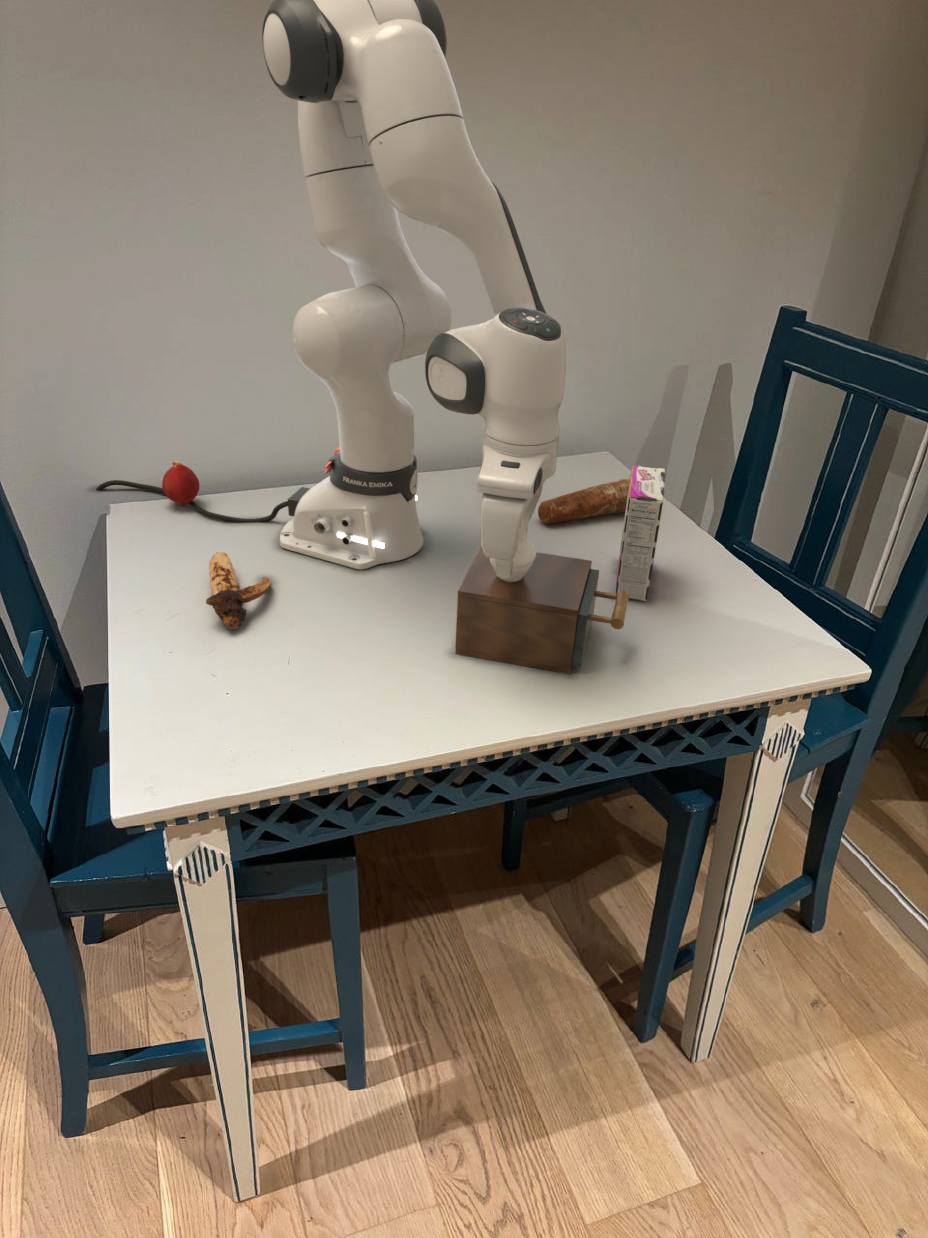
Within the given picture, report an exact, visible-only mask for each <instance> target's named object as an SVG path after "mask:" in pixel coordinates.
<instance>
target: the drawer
mask: <svg viewBox="0 0 928 1238" xmlns="http://www.w3.org/2000/svg"><path fill="white" fill-rule="evenodd" d="M599 576H600V569H594V568H591V569H590V573H589V576H588V580H587V584H586V587H585V591H584V595H583V598H582V602H581V605H580V609H579V613H578V618H577V626H576V634H575V641H574V649H573V657H572V667H576V668H581V667H582V664H583V659H584V655H585V652H586V647H587V643H588V639H589V635H590V631H591V628H592V623H593V622H596V623H602V624H609V625H610V626H611V627H612V628H613V629H615V630H620V629H622V628H624V624H625V620H626V614H627V608H628V604H629V600H630V599H629V595H628V593H627V592H625V591H620V592H618V593H617V594H616V593H612V592H606V591H600V590H598V583H599ZM597 598H601V599H607V600H615V601H614V606H613V611H612V615H611V617H610V616H603V615H597V614H594V612H595V605H596V599H597Z"/></svg>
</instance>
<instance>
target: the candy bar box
mask: <svg viewBox="0 0 928 1238" xmlns="http://www.w3.org/2000/svg"><path fill="white" fill-rule="evenodd" d="M629 478H630V484H629V490H628V496H627V503H626V510H625V512H624V517H623V525H622V531H621V532H622V533H621V539H620V546H619V547H620V548H619V556H618V565H617V572H616V583H615V584H616V585H615V594H617V593H618V592H620V591H625V592H627V593H628V595H629V599H628V600H631V601H639V602H648V599H649V592H650V586H651V580H652V574H653V567H654V562H655V555H656V550H657V543H658V537H659V530H660V525H661V518H662V511H663V505H664V500H665V499H664V497H665V486H666V485H665V482H666V468H661V467H653V466H643V465H632V466H631V473H630V477H629Z"/></svg>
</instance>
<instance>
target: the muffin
mask: <svg viewBox="0 0 928 1238" xmlns="http://www.w3.org/2000/svg"><path fill="white" fill-rule="evenodd" d="M536 552H537V551H536V548H535V546H534V544H533V543H532V542H531V541H530V539H529V538H528V533H527V534H526V532H525V533H524V535H523V537H522V540H521V542H520V544H519V547H518V549H517V551H516V553H515V556H514V558H513V559H512V561H513V566H512V573H511V575H510V577H509V578H501V577H499V579H501V580H503V581H507V582H516V581H519V580H521V579H522V578H523V576H524V575H525V574H526V572H527V571H528V570H529V568H530V567H531V565H532V564H533V561H534V559H535V557H536ZM490 562H491V564H492V566H493V568H494V570H495V572H496V562H495V559H494V558H490Z"/></svg>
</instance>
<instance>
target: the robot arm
mask: <svg viewBox="0 0 928 1238" xmlns="http://www.w3.org/2000/svg"><path fill="white" fill-rule="evenodd" d="M264 15H265V16H264V18H263V23H262V29H261V31H262V32H261V34H262V35H261V37H262V51H263V57H264V61H265V66H266V68H267V72H268V75H269V76H270V79H271V81H272V83H273V84H274V85H275V86H276V87H277V88H278V90H279V91H280V92H281V93H282V94H283V95H284V96H285V97H287V98H289V99H292V100H295V101H297V128H298V143H299V151H300V157H301V164H302V171H303V176H304V180H305V181H304V182H305V186H306V191H307V195H308V196H307V197H308V201H309V207H310V211H311V215H312V221H313V226H314V231H315V236H316V238H317V240H318V242H319V244H320V246H321V247H322V248H323V249H324V250H326V251H327V252H329V253H330V254H332V255H334V256H336V257H338V258H339V259H340V260H341V261H342V263H343V264H344V265H345V266H346V267H347V270H348V272H349V273H350V276H351V277H352V280H353V282H354V285H355V287H350V288H346V289H341V290H337V291H332V292H328V293H326V294H324V295H321V296H319V297H318V298H315V299H314V300H312V301H310V302H308V303H307V304H305V305H303V306H302V307H300V308H299V310H297V312H296V314H295V316H294V319H293V323H292V329H291V339H292V345H293V349H294V351H295V354H296V356H297V358H298V360H299V361H300V363H301V364H302V366H303V367H304V368H305V369H306V370H307V371H308V372H309V373H311V375H313V376H315V377H317V378H318V379H319V380H320V381H321V382H322V383H323V384H324V386H326V388H327V390H328V391H329V393H330V395H331V398H332V400H333V403H334V406H335V410H336V419H337V429H338V441H339V446H338V447H337V448H336V449H335V450H334V451H333V455H332V456H331V457H329V459H328V463H326V465H325V466H324V469H325V471H324V474H325V475H327V474H329V476H327V477H326V478H324V479H322V480H321V481H319V482H318V483H317V484H315V485H314V486H311V488H309V487H304V486H301V487H300V488H298V489H297V491H295V492H294V493H293V494H292V495H290V496H289V497H288V498H287V500H286V501H283V502H280V503H279V504H277V505H276V506H274V508H273V510H272V512H271V513H270V514H269V515H267V516H263V517H258V518H243V517H235V516H229V515H223V514H220V513H216V512H212V511H208V510H206V509H205V508H203V507H201V506H200V505H199V504H198V503H196V502H195V501H194V500H193V501H191V502H190V503H189V504H188V506H190V507H192V508H193V509H194V510H195V511H197V512H198V513H199V514H201V515H203V516H205V517H207V518H210V519H214V520H218V521H222V522H223V521H224V522H229V523H234V524H235V523H236V524H237V523H238V524H251V523H253V524H254V523H267V522H271V521H272V520H274V519H275V518H276V517H277V515H278V514H279V512H280V511H281V510H282V509H285V508H287V510H288V516H290V517H292V518H291V519H289V520H288V521H287V522H286V524H285V525H284V526H283V528H282V529H281V531H280V534H279V545H280V548H282V549H285V550H288V551H291V552H295V553H299V554H302V555H306V556H310V557H313V558H316V559H319V560H324V561H327V562H330V563H334V564H337V565H341V566H345V567H348V568H351V569H355V570H366V569H369V568H372V567H374V566H377V565H380V564H385V563H386V564H387V563H393V562H398V561H402V560H404V559H408V558H410V557H412V556H413V555H416V554H417V553H418V552H420V550H421V549H422V548H423V546H424V544H425V543H424V541H425V540H424V536H423V533H422V530H421V526H420V521H419V516H418V509H417V501H418V495H417V490H418V479H419V478H418V476H419V474H418V471H419V470H418V460H417V456H416V455H415V411H414V408H413V406H412V404H411V403H410V402H409V401H408V399H406V398H405V397H404V396H403V395H402V394H400V393H399V392H396V391H395V390H394V389H393V387H392V384H391V378H390V369H391V367H392V365H395V364H398V363H402V362H405V361H409V360H412V359H417V358H419V357H422V356H423V355H425V360H424V375H425V381H426V385H427V388H428V390H429V393H430V395H432V397H433V398H434V400H435V401H436V402H437V403H438V404H439V405H440V406H442V407H443V408H444V409H446V410H448V411H449V412H454V413H459V414H464V415H479V416H481V418H483V420H484V426H483V442H482V452H481V463H480V464H481V465H480V468H479V472H478V476H477V481H476V482H477V483H476V489H477V492H478V493H481V494H482V495H481V505H480V536H481V545H482V550H483V553H484V555H485V556H486V557H489V558H494V559H495V562H496V576H498V577H501V578H509V577H510V575H511V573H512V566H513V561H512V559H513V558H514V556H515V553H516V551H517V549H518V547H519V544H520V542H521V540H522V537H523V535H524V533H525V532H526V534H527V535H528V530H529V524H530V521H531V519H532V517H533V514H534V512H535V509H536V508H537V505H538V503H539V502H540V501H539V500H540V498H541V496H542V492H543V487H544V484H545V482H546V481H547V480H548V479H550V478H551V477H553V476H554V475H555V473H556V470H557V462H558V451H559V442H560V432H561V431H560V423H559V412H560V408H561V405H562V403H563V399H564V394H565V393H564V392H565V385H566V373H567V372H566V368H567V349H566V339H565V334H564V331H563V328H562V326H561V324H560V323H559V321H558V320H556V319H555V318H553V316H551V315H550V314H548V313H547V312H546V309H545V308H544V305H543V303H542V301H541V298H540V295H539V292H538V290H537V289H538V288H537V287H536V284H535V280H534V278H533V274H532V272H531V269H530V265H529V263H528V261H527V260H528V259H527V257H526V254H525V252H524V248H523V246H522V242H521V240H520V237H519V234H518V231H517V228H516V225H515V222H514V220H513V217H512V214H511V212H510V209H509V206H508V204H507V202H506V200H505V197H504V195H503V193H502V192H501V190H500V188H499V187H498V186H497V184H495V183H494V182H493V181H492V180H491V179H490V178H489V175H488V174H487V173H486V171H485V170H484V168H483V166H482V164H481V163H480V161H479V159H478V156H477V155H476V152H475V150H474V148H473V145H472V143H471V140H470V137H469V134H468V129H467V127H466V123H465V118H464V115H463V111H462V106H461V102H460V99H459V95H458V92H457V88H456V86H455V82H454V79H453V77H452V74H451V70H450V68H449V65H448V62H447V60H446V56H447V47H448V46H447V45H448V40H447V39H448V38H447V29H446V25H445V22H444V18H443V16H442V13H441V10H440V8H439V6H438V4H437V2H436V1H434V0H272V1H271V2H270V4H269V6H268V8H267V11H266V13H265V14H264ZM398 211H399V212H400V213H401V214H403V215H404V216H405V217H407V218H408V219H411V220H413V221H415V222H417V223H420V224H423V225H427V226H430V227H432V228H435V229H437V230H440V231H442V232H444V233H446V234H448V235H450V236H451V237H453V238H455V239H456V240H458V241H459V242H461V243H462V244H463V245H464V247H465V248H467V250H468V251H469V252H470V254H471V255H472V257H473V259H474V261H475V263H476V266H477V269H478V272H479V275H480V277H481V280H482V283H483V286H484V288H485V289H484V290H485V291H486V294H487V298H488V300H489V303H490V305H491V308H492V311H493V314H494V317H493V318H491V319H489V320H487V321H484V322H482V323H477V324H471V325H466V326H462V327H457V328H454V329H453V328H452V329H451V327H452V320H453V319H452V308H451V304H450V302H449V298H448V297H447V295H446V293H445V292H444V290H443V289H442V287H440V285H438V284H437V283H436V282H434V281H433V280H431V279H430V278H429V277H428V276H427V275H426V273H425V272H424V271H423V270H422V269H421V266H419V264H418V263H417V261H416V259H415V257H414V255H413V253H412V251H411V249H410V247H409V245H408V243H407V240H406V237H405V235H404V232H403V230H402V229H403V228H402V226H401V222H400V218H399V213H398ZM111 486H122V487H128V488H129V487H130V488H135V489H139V490H145V491H152V492H156V493H160V494H163V495H166V494H165V493H164V492H163V488H162V487H159V486H155V485H150V484H143V483H139V482H138V483H137V482H132V481H128V480H120V479H113V480H106V481H104V482H103V484H102V483H100V484H99V485H98V486H97V487H96V489H95V491H97V492H98V491H99V492H100V491H103V490H105V489H106V488H108V487H111Z"/></svg>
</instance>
